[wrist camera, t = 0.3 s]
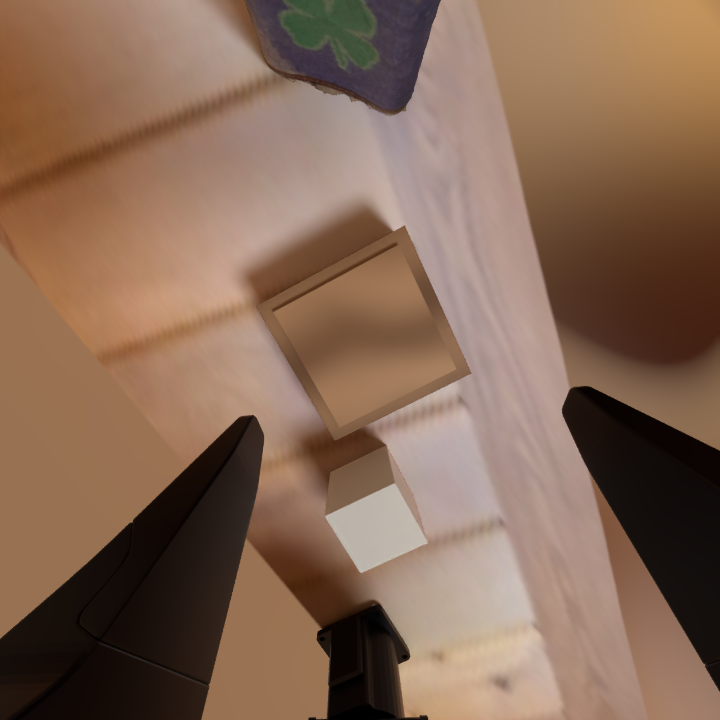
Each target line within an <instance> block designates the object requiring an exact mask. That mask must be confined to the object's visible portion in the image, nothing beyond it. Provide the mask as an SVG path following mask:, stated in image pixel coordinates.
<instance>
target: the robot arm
mask: <svg viewBox="0 0 720 720" xmlns="http://www.w3.org/2000/svg"><path fill="white" fill-rule="evenodd" d="M562 414H563V417H564V419H565V422H566V424H567V426H568V428H569V430H570V432H571V435H572V437H573V439H574V441H575V443H576V446H577V448H578V450H579V452H580V454H581V456H582V459H583V461H584V463H585V465H586V466H587V468H588V470H589V472H590V474H591V475H592V477H593V479H594V480H595V482H596V484H597V485H598V487H599V489H600V490H601V492H602V494H603V495H604V497H605V499H606V500H607V502H608V504H609V506H610V507H611V509H612V511H613V512H614V514H615V515H616V517H617V519H618V521H619V522H620V524H621V526H622V527H623V529H624V531H625V532H626V534H627V536H628V538H629V539H630V541H631V542H632V544H633V546H634V548H635V549H636V551H637V553H638V554H639V556H640V558H641V559H642V561H643V563H644V564H645V566H646V568H647V569H648V571H649V573H650V575H651V576H652V578H653V580H654V581H655V583H656V584H657V586H658V588H659V590H660V591H661V593H662V595H663V596H664V598H665V600H666V601H667V603H668V605H669V607H670V608H671V610H672V612H673V613H674V615H675V617H676V618H677V620H678V622H679V623H680V625H681V626H682V628H683V630H684V631H685V633H686V635H687V637H688V639H689V640H690V642H691V644H692V645H693V647H694V648H695V650H696V652H697V654H698V655H699V657H700V659H701V660H702V662H703V663H704V664H705V668H706V669H707V671H708V673H709V674H710V676H711V678H712V679H713V681H714V683H715V685H716V686H717V688H718V690H719V691H720V451H719V450H717V449H715V448H713V447H711V446H709V445H707V444H705V443H703V442H701V441H699V440H697V439H695V438H693V437H691V436H689V435H687V434H685V433H683V432H681V431H679V430H677V429H675V428H673V427H671V426H669V425H667V424H665V423H663V422H661V421H659V420H657V419H655V418H652V417H651V416H649V415H646V414H645V413H642V412H640V411H638V410H636V409H634V408H632V407H630V406H628V405H626V404H624V403H622V402H620V401H618V400H616V399H614V398H612V397H610V396H608V395H606V394H604V393H602V392H600V391H598V390H596V389H594V388H592V387H589V386H580V387H573V388H571V389H570V390H569V392H568V395H567V397H566V400H565V402H564V405H563V407H562ZM263 445H264V434H263V431H262V429H261V427H260V424H259V422H258V420H257V418H256V417H255V416H254V415H248V416H241V417H239V418H238V419H237V420H236V421H235V422H234V423H233V424H232V425H231V426H230V427H229V428H227V429H226V430H225V431H224V432H223V433H222V434H221V435H220V436H219V437H218V438H217V439H216V440H215V441H214V442H213V443H212V444H211V445H210V446H209V447H208V448H207V449H206V450H205V451H204V452H203V453H202V454H201V455H200V456H199V457H198V458H196V459H195V460H194V461H193V462H192V463H191V464H190V465H189V466H188V467H187V468H186V469H185V470H184V471H183V472H182V473H181V474H180V475H179V476H178V477H177V478H176V479H175V480H174V481H173V482H172V483H171V484H170V485H169V486H168V487H166V488H165V490H163V491H162V492H161V493H160V494H159V495H158V496H157V497H156V498H155V499H154V500H153V501H152V502H151V503H150V504H149V505H148V506H147V507H146V508H145V509H144V510H143V511H142V512H141V513H140V514H139V515H138V516H137V517H135V518H134V520H133V523H129V524H128V525H127V526H126V527H125V528H124V529H123V530H122V531H121V532H120V533H119V534H118V535H117V536H116V537H115V538H114V539H113V540H111V541H110V542H109V543H108V544H107V545H106V546H105V547H104V548H103V549H102V550H101V551H100V552H99V553H98V554H97V555H96V556H94V557H93V558H92V559H91V560H90V561H89V562H88V563H87V564H86V565H84V566H83V567H82V568H81V569H80V570H79V571H78V572H77V573H75V574H74V575H73V576H72V577H71V578H70V579H69V580H68V581H66V582H65V583H64V584H63V585H62V586H61V587H60V588H58V589H57V590H56V591H55V592H54V593H53V594H51V595H50V596H49V597H48V598H47V599H46V600H44V601H43V602H42V603H41V604H40V605H39V606H38V607H36V608H35V609H34V610H33V611H32V612H31V613H29V614H28V615H27V616H26V617H25V618H24V619H22V620H21V621H20V622H19V623H18V624H17V625H16V626H14V627H13V628H12V629H11V630H10V631H9V632H8V633H6V634H5V635H4V636H3V637H2V638H1V639H0V720H201V718H202V714H203V710H204V706H205V702H206V698H207V694H208V690H209V684H210V681H211V677H212V673H213V669H214V665H215V661H216V656H217V652H218V648H219V644H220V640H221V636H222V632H223V628H224V624H225V620H226V616H227V612H228V608H229V603H230V600H231V596H232V592H233V588H234V584H235V579H236V575H237V571H238V567H239V563H240V559H241V555H242V551H243V547H244V542H245V539H246V535H247V531H248V527H249V523H250V519H251V515H252V511H253V507H254V503H255V499H256V494H257V489H258V483H259V476H260V468H261V461H262V453H263ZM317 641H318V643H319V644H320V645H321V647H322V648H323V650H324V651H325V652H326V654H327V655H328V657H329V658H330V661H329V677H328V685H329V691H328V709H327V719H316V717H310V718H309V719H308V720H428V717H427V715H420V717H409V718H405V715H404V707H403V699H402V691H401V683H400V676H399V668H398V664H400V663H402V662H405V661H407V660H409V658H410V652H409V649H408V647H407V646H406V644H405V643H404V641H403V640H402V638H401V636H400V635H399V633H398V632H397V630H396V629H395V627H394V625H393V624H392V622H391V621H390V619H389V618H388V616H387V614H386V613H385V611H384V610H383V608H382V607H381V606H379V605H376V606H373V607H371V608H369V609H367V610H364V611H362V612H360V613H358V614H355V615H353V616H351V617H349V618H346V619H344V620H342V621H340V622H337V623H335V624H333V625H331V626H328V627H326V628H324V629H322V630H320V631H318V633H317Z"/></svg>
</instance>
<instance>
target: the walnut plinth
mask: <svg viewBox="0 0 720 720" xmlns="http://www.w3.org/2000/svg"><path fill="white" fill-rule="evenodd" d="M256 307H257V309H258V311H259V313H260V314H261V316H262V318H263V319H264V321H265V323H266V325H267V326H268V328H269V330H270V331H271V333H272V335H273V336H274V338H275V340H276V342H277V343H278V345H279V347H280V348H281V350H282V352H283V353H284V355H285V357H286V359H287V360H288V362H289V364H290V365H291V367H292V369H293V371H294V372H295V374H296V376H297V377H298V379H299V381H300V382H301V384H302V386H303V388H304V389H305V391H306V393H307V394H308V396H309V398H310V399H311V401H312V403H313V405H314V406H315V408H316V410H317V411H318V413H319V415H320V416H321V418H322V420H323V422H324V423H325V425H326V427H327V428H328V430H329V432H330V434H331V435H332V437H333V439H334V440H335V441H336V440H338V439H340V438H342V437H344V436H346V435H348V434H350V433H352V432H354V431H356V430H358V429H360V428H362V427H364V426H366V425H368V424H370V423H372V422H374V421H376V420H378V419H380V418H382V417H384V416H386V415H388V414H390V413H392V412H394V411H396V410H398V409H400V408H402V407H404V406H406V405H408V404H411V403H413V402H415V401H417V400H419V399H421V398H423V397H425V396H427V395H429V394H431V393H433V392H435V391H437V390H439V389H441V388H443V387H445V386H447V385H449V384H451V383H453V382H455V381H457V380H459V379H461V378H463V377H465V376H467V375H469V374H471V371H470V369H469V367H468V365H467V362H466V360H465V358H464V356H463V354H462V351H461V349H460V347H459V345H458V343H457V340H456V338H455V336H454V334H453V332H452V329H451V327H450V325H449V323H448V320H447V318H446V316H445V314H444V312H443V309H442V307H441V305H440V303H439V301H438V298H437V296H436V294H435V292H434V289H433V287H432V285H431V283H430V281H429V278H428V276H427V274H426V272H425V270H424V267H423V265H422V263H421V261H420V259H419V256H418V254H417V252H416V250H415V247H414V245H413V243H412V241H411V239H410V236H409V234H408V232H407V230H406V228H405V226H403V227H401V228H399V229H397V230H395V231H394V232H392V233H390V234H388V235H386V236H384V237H383V238H381V239H379V240H377V241H375V242H373V243H372V244H370V245H368V246H366V247H364V248H362V249H360V250H359V251H357V252H355V253H353V254H351V255H349V256H348V257H346V258H344V259H342V260H340V261H338V262H337V263H335V264H333V265H331V266H329V267H327V268H326V269H324V270H322V271H320V272H318V273H316V274H314V275H313V276H311V277H309V278H307V279H305V280H303V281H302V282H300V283H298V284H296V285H294V286H292V287H291V288H289V289H287V290H285V291H283V292H281V293H280V294H278V295H276V296H274V297H272V298H270V299H268V300H267V301H265V302H263V303H261V304H259V305H257V306H256Z"/></svg>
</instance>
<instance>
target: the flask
mask: <svg viewBox="0 0 720 720" xmlns="http://www.w3.org/2000/svg"><path fill="white" fill-rule="evenodd" d="M440 1H441V0H245V3H246V6H247V8H248V11H249V14H250V17H251V20H252V23H253V26H254V28H255V31H256V34H257V37H258V41H259V44H260V48H261V50H262V53H263V55H264V58H265V60H266V62H267V63H268V65H269V66H270V68H272V69H273V70H275V71H276V72H277V73H278V74H280V75H281V76H284V77H285V78H287V79H288V80H292V81H293V82H295V79H298V80H302V81H303V82H306V83H310V84H311V85H312V86H315V87H316V89H318V90H322V91H323V92H324V93H329V94H331V95H335V94H336V95H337V94H339V95H340V94H343V93H344V94H346V95H348V96H350V99H351V102H352V101H362V102H365V103H366V104H367V105H368V106H369V109H370V108H372V109H375V110H377V111H379V112H382V113H384V114H386V115H387V116H392V115H395V114H397V113H400V112H401V111H406V105H407V103H408V102H409V100H410V99H411V96H412V93H413V92H414V86H415V83H416V80H417V77H418V72H419V68H420V65H421V62H422V59H423V55H424V51H425V48H426V45H427V42H428V39H429V35H430V31H431V27H432V24H433V21H434V19H435V17H436V13H437V9H438V6H439V3H440Z"/></svg>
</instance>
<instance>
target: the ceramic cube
mask: <svg viewBox="0 0 720 720" xmlns="http://www.w3.org/2000/svg"><path fill="white" fill-rule="evenodd" d="M325 518H326V519H327V521H328V522H329V524H330V525H331V527H332V529H333V530H334V532H335V533H336V535H337V537H338V538H339V540H340V541H341V543H342V544H343V546H344V548H345V549H346V551H347V552H348V554H349V556H350V557H351V559H352V560H353V562H354V563H355V565H356V567H357V568H358V570H359V571H360V573H363V572H365V571H367V570H369V569H371V568H374V567H376V566H378V565H380V564H382V563H385V562H387V561H389V560H391V559H393V558H396V557H398V556H400V555H402V554H405V553H407V552H409V551H411V550H413V549H416V548H418V547H420V546H422V545H424V544H427V543H428V540H427V537H426V534H425V531H424V527H423V524H422V521H421V518H420V514H419V511H418V508H417V505H416V501H415V498H414V495H413V493H412V491H411V489H410V487H409V486H408V484H407V482H406V480H405V478H404V476H403V475H402V473H401V471H400V469H399V467H398V465H397V464H396V462H395V460H394V458H393V456H392V454H391V453H390V451H389V449H388V447H387V445H385V446H383V447H381V448H379V449H377V450H375V451H373V452H371V453H369V454H367V455H365V456H363V457H360V458H358V459H356V460H354V461H352V462H350V463H348V464H346V465H344V466H342V467H340V468H338V469H336V470H334V471H332V472H330V478H329V486H328V494H327V502H326V510H325Z"/></svg>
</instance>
